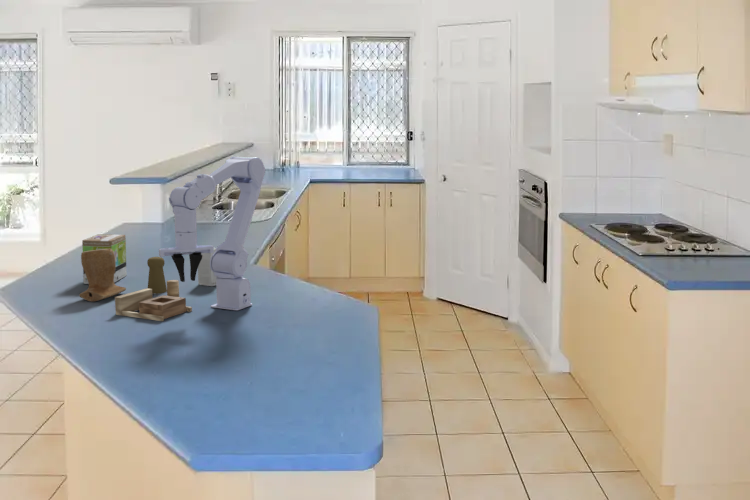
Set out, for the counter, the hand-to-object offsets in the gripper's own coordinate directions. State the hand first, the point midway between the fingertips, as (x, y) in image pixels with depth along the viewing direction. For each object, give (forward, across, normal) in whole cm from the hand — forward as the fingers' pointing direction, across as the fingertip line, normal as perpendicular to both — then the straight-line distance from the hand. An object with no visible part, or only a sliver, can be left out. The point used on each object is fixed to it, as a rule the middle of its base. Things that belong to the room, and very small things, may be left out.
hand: (187, 280), depth 227 cm
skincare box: (+11, -17, -40) cm, 45 cm away
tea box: (+11, +12, -62) cm, 64 cm away
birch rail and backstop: (+10, +7, -10) cm, 16 cm away
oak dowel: (+10, 0, -18) cm, 20 cm away
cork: (+11, +1, -37) cm, 39 cm away
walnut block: (+10, +5, -7) cm, 14 cm away
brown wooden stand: (+11, +18, -37) cm, 42 cm away
